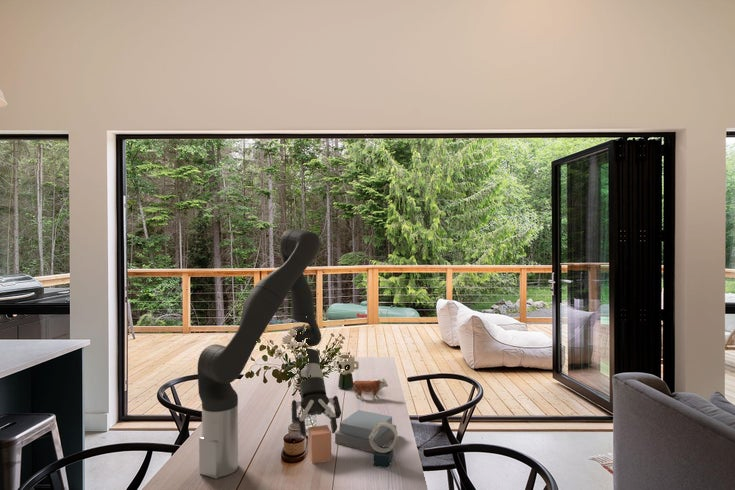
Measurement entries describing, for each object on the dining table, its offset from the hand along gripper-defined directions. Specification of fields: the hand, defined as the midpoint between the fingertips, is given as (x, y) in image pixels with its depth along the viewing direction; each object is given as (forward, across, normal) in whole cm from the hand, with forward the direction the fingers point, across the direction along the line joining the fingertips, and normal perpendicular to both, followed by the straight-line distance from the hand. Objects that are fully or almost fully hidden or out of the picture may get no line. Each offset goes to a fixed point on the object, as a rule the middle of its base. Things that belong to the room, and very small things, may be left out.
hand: (319, 434), depth 135 cm
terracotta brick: (+5, 0, +4) cm, 7 cm away
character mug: (-35, +23, +44) cm, 61 cm away
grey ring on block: (+11, +16, -1) cm, 19 cm away
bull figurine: (-24, +28, +33) cm, 50 cm away
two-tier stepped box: (0, +16, +10) cm, 19 cm away
